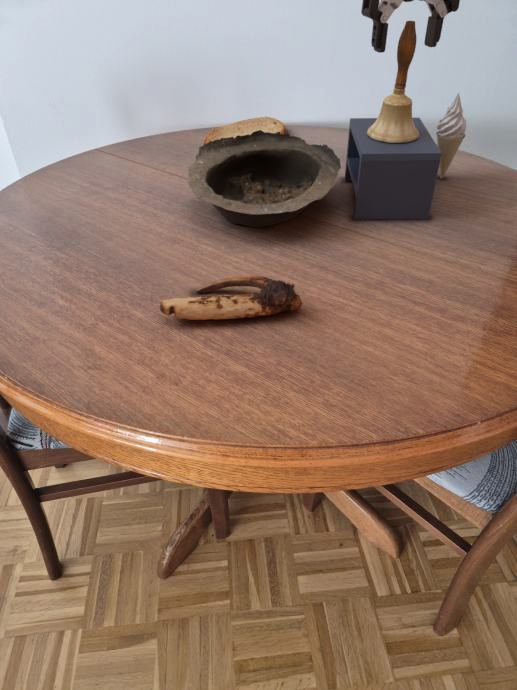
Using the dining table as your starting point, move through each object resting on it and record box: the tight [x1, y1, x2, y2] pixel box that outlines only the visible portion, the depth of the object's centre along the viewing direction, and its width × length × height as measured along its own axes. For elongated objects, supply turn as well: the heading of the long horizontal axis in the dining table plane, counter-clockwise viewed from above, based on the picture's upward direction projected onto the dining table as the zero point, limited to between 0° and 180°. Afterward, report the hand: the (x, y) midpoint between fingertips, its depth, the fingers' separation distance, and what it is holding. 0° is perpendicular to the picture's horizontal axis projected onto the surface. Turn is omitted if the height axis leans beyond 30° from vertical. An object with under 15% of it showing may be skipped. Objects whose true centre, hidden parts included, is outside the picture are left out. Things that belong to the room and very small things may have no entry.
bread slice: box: [202, 116, 287, 146], centre depth 115 cm, size 18×18×4 cm
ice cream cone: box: [435, 92, 467, 179], centre depth 96 cm, size 5×5×15 cm
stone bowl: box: [187, 130, 342, 228], centre depth 90 cm, size 25×25×9 cm
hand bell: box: [367, 20, 419, 143], centre depth 83 cm, size 8×8×16 cm
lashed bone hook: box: [159, 275, 303, 321], centre depth 70 cm, size 9×5×18 cm
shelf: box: [344, 117, 442, 221], centre depth 92 cm, size 12×16×11 cm
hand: (404, 48), depth 80 cm, fingers open, 8 cm apart
